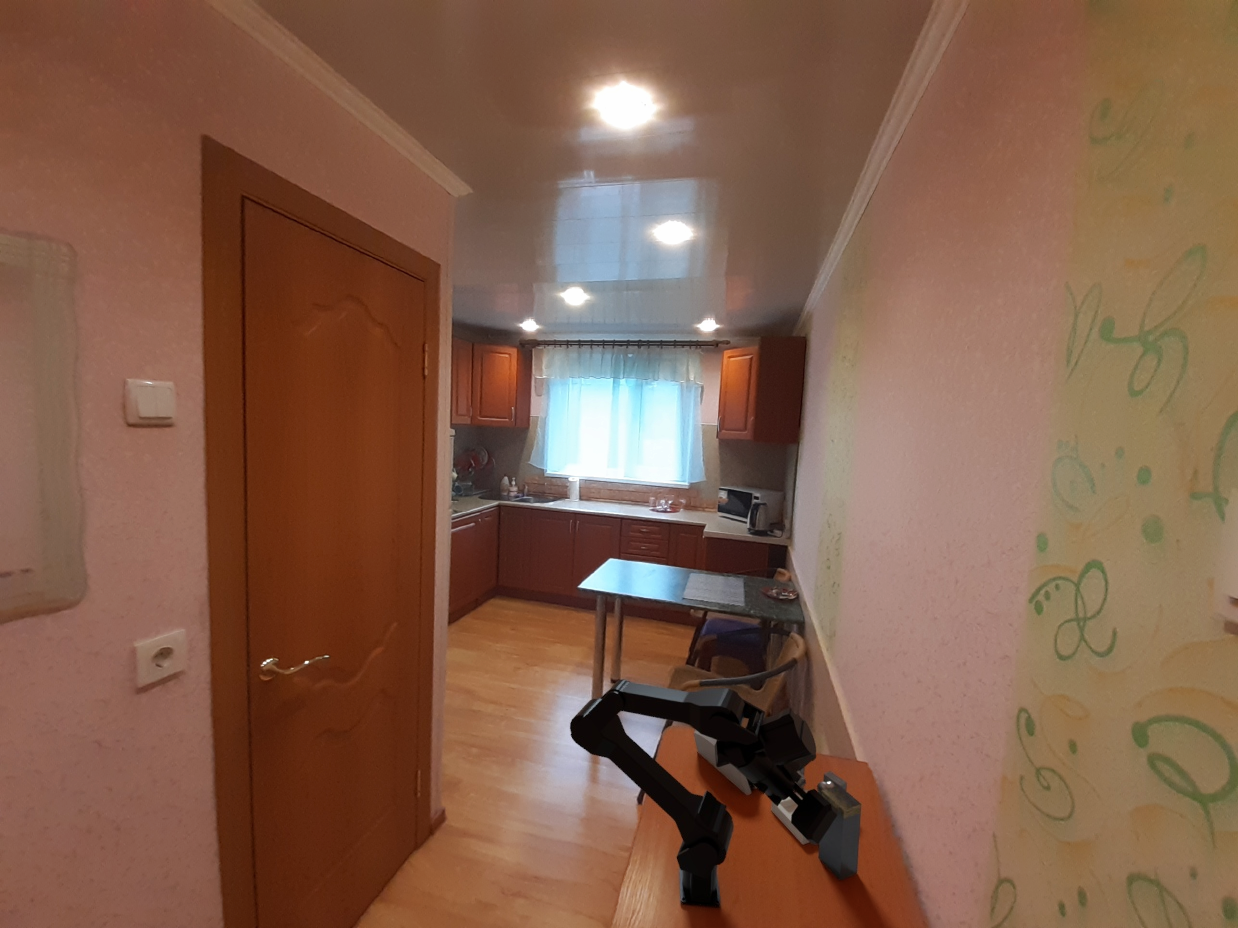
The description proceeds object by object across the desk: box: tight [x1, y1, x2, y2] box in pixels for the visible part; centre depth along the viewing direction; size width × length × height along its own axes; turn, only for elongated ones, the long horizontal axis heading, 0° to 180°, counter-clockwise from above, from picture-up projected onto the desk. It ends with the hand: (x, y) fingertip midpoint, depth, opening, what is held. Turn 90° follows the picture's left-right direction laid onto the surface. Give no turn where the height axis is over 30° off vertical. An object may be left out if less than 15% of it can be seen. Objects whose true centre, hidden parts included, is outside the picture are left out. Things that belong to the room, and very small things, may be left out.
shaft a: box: [816, 770, 848, 795], centre depth 105 cm, size 5×4×6 cm
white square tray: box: [770, 788, 810, 846], centre depth 101 cm, size 9×9×2 cm
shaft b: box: [793, 766, 807, 792], centre depth 108 cm, size 5×4×6 cm
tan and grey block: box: [817, 785, 862, 882], centre depth 90 cm, size 5×4×13 cm
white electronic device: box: [693, 730, 757, 796], centre depth 115 cm, size 17×5×10 cm, turn 31°
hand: (807, 808), depth 87 cm, fingers open, 9 cm apart
